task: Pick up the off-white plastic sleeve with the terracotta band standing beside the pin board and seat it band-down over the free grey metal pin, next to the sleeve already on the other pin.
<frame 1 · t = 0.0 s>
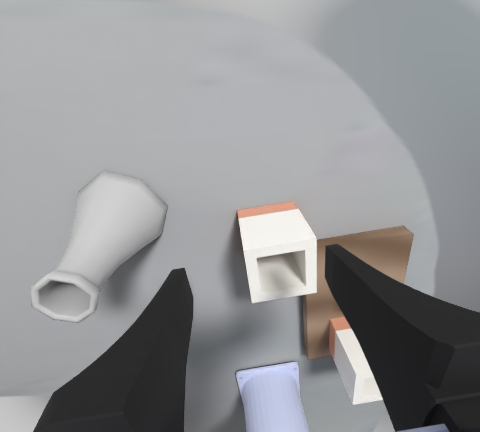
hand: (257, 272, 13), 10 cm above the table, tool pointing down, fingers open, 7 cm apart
seated sleeve: (351, 330, 30), point 1 cm above the table, touching pin board
flask: (124, 211, 22), on the table
pin board: (347, 294, 29), on the table
sleeve: (267, 229, 24), on the table
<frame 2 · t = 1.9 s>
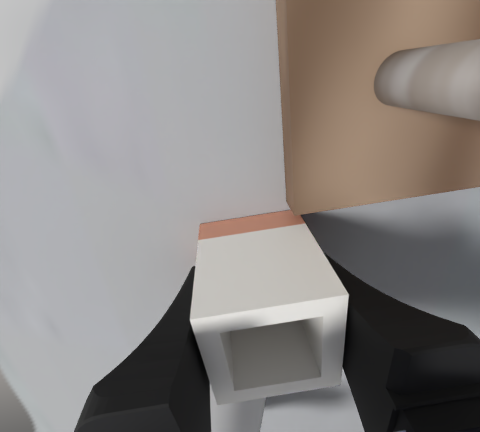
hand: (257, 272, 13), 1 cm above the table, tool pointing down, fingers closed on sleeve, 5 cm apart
flask: (218, 384, 21), on the table
pin board: (470, 64, 11), on the table
sleeve: (253, 255, 15), on the table, touching gripper
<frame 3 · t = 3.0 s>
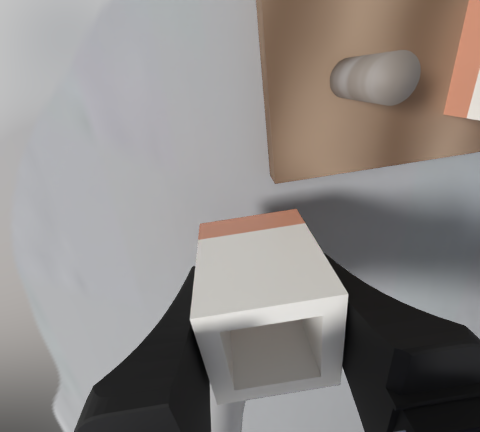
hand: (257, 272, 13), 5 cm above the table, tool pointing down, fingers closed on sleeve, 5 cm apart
flask: (217, 339, 24), on the table
pin board: (406, 67, 14), on the table
sleeve: (253, 255, 15), point 4 cm above the table, touching gripper
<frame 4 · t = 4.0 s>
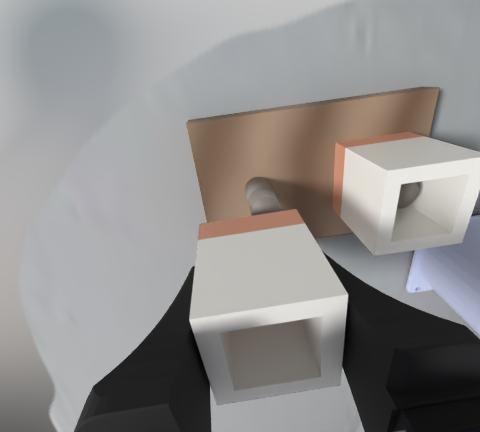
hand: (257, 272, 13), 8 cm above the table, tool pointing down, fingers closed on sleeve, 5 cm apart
seated sleeve: (368, 172, 19), point 1 cm above the table, touching pin board
pin board: (306, 173, 20), on the table
sleeve: (253, 255, 15), point 7 cm above the table, touching gripper
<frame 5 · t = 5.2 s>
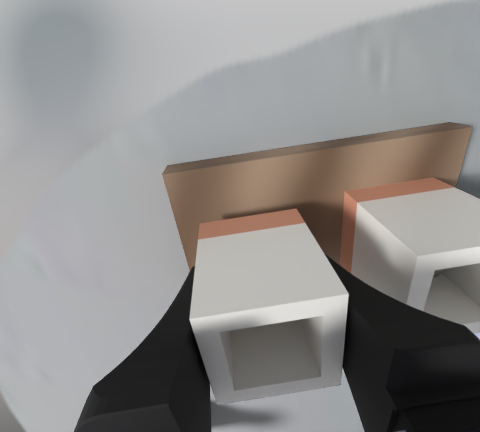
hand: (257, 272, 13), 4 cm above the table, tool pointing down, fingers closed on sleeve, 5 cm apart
seated sleeve: (383, 222, 16), point 1 cm above the table, touching pin board
pin board: (309, 221, 17), on the table
sleeve: (253, 255, 15), point 3 cm above the table, touching gripper
when the fingers open (4 cm above the table, at t = 6.2 s): sleeve stays where it is, resting on pin board.
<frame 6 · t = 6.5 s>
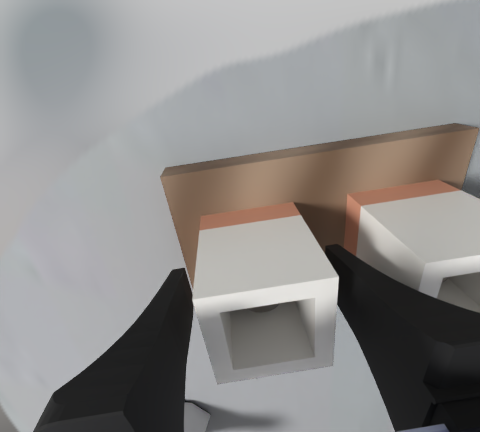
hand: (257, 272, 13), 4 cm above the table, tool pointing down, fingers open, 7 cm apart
seated sleeve: (386, 226, 15), point 1 cm above the table, touching pin board
flask: (172, 415, 26), on the table
pin board: (311, 224, 17), on the table
sleeve: (251, 247, 15), point 1 cm above the table, touching pin board
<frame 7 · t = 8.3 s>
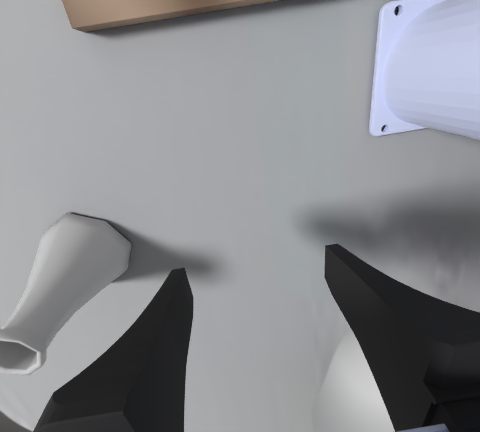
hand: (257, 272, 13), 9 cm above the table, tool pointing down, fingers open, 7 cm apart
flask: (90, 248, 23), on the table
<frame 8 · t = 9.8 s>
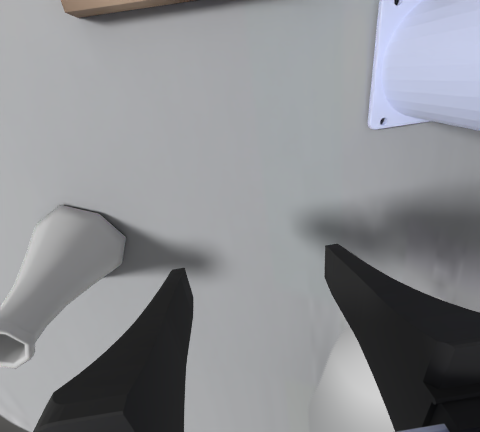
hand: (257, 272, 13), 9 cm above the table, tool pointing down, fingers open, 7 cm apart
flask: (83, 241, 23), on the table
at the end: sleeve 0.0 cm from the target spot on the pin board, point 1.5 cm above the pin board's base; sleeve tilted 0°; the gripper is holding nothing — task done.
